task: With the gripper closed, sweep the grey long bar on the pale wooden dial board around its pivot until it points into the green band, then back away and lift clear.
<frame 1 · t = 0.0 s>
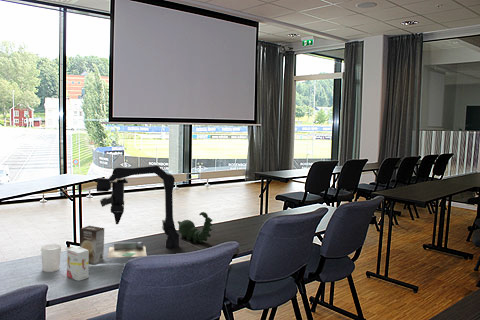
hand: (117, 222, 207), 15 cm above the table, tool pointing down, fingers open, 9 cm apart
ink box: (77, 277, 170), on the table
white cup: (51, 269, 177), on the table
coffee box: (91, 262, 189), on the table
grey long bar: (128, 245, 208), point 3 cm above the table, hinge at 0.0°
toy figurine: (192, 241, 233), on the table
dial board: (127, 253, 204), on the table
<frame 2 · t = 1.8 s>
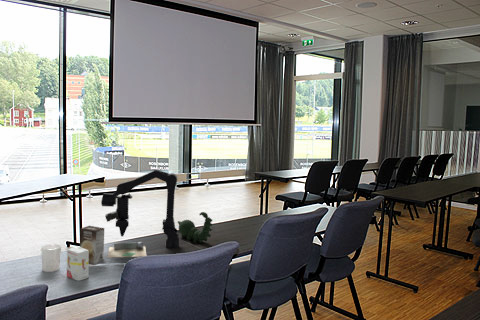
hand: (122, 236, 213), 6 cm above the table, tool pointing down, fingers closed
nothing on the table moved.
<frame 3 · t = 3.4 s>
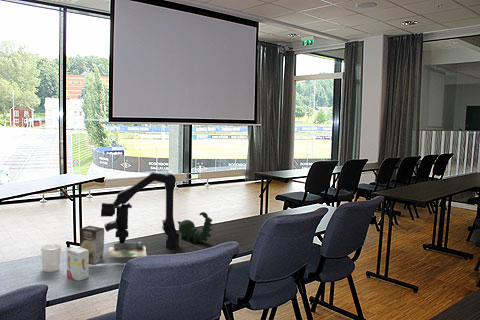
hand: (121, 246, 209), 2 cm above the table, tool pointing down, fingers closed
grey long bar: (128, 245, 208), point 3 cm above the table, hinge at 0.5°, touching gripper
everything else where it was.
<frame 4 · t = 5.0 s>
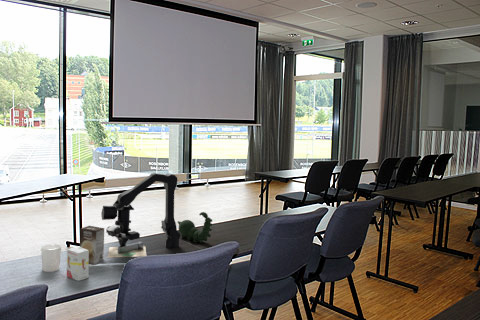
hand: (122, 249, 204), 2 cm above the table, tool pointing down, fingers closed
grey long bar: (130, 247, 205), point 3 cm above the table, hinge at 35.1°, touching gripper
everything else where it was.
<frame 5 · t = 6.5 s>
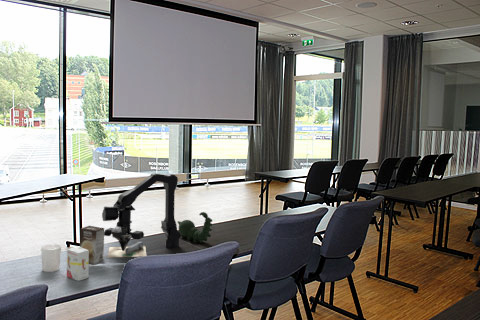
hand: (123, 250, 201), 2 cm above the table, tool pointing down, fingers closed
grey long bar: (134, 248, 204), point 3 cm above the table, hinge at 59.4°
everything else where it was.
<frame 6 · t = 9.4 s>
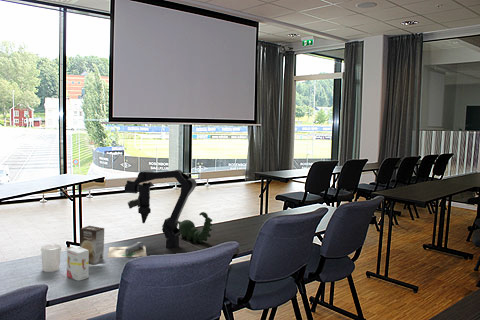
hand: (143, 223, 219), 12 cm above the table, tool pointing down, fingers closed
nothing on the table moved.
at the end: grey long bar at +60° (first picture: +0°) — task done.
